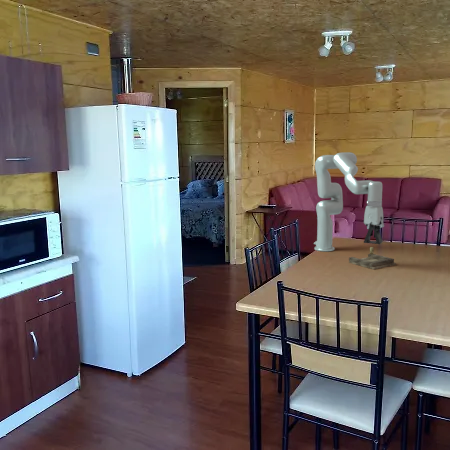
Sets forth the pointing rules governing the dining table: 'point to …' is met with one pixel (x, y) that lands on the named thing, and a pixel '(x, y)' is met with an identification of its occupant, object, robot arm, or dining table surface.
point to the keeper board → (373, 261)
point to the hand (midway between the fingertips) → (373, 236)
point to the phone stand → (378, 237)
